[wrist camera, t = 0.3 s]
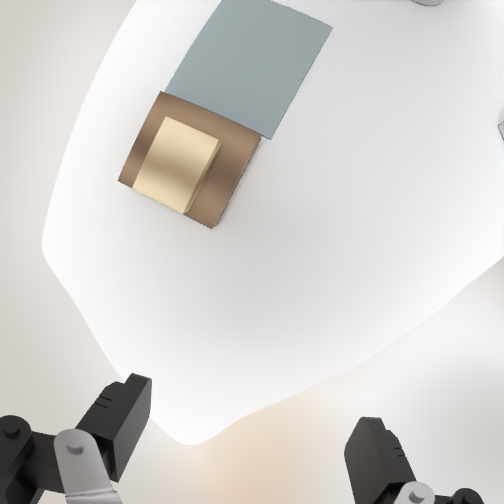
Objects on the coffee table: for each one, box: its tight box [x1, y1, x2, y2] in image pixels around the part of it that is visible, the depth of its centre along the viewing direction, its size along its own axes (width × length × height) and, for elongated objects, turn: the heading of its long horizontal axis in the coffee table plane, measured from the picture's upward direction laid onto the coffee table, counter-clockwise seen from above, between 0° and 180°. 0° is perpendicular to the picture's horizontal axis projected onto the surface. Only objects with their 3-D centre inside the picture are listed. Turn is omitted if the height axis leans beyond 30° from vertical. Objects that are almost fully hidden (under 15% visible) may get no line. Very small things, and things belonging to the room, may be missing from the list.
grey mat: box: [165, 0, 333, 140], centre depth 33 cm, size 17×14×1 cm
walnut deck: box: [118, 91, 261, 229], centre depth 34 cm, size 11×12×4 cm
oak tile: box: [132, 117, 222, 214], centre depth 31 cm, size 8×6×2 cm
